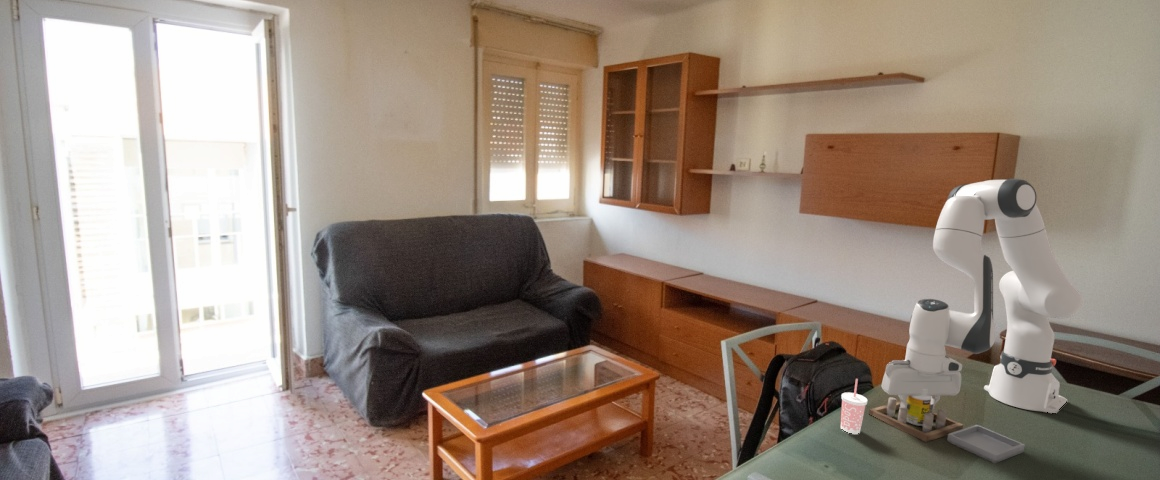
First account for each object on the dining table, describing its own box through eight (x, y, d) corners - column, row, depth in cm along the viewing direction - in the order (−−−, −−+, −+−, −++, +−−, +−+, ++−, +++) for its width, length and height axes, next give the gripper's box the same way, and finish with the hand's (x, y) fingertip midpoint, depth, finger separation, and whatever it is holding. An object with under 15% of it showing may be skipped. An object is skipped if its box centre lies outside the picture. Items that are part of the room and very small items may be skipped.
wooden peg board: (904, 404, 164) (906, 388, 163) (962, 429, 150) (965, 412, 149) (868, 414, 156) (870, 397, 155) (926, 441, 142) (929, 423, 141)
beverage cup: (832, 426, 148) (838, 375, 146) (849, 422, 151) (855, 373, 148) (851, 437, 143) (858, 385, 140) (868, 433, 145) (875, 382, 143)
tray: (975, 431, 149) (976, 424, 149) (1023, 452, 139) (1024, 444, 139) (947, 441, 143) (948, 433, 143) (994, 463, 133) (996, 455, 133)
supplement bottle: (920, 428, 149) (926, 392, 147) (899, 419, 154) (904, 384, 152) (931, 423, 152) (936, 388, 150) (910, 415, 157) (915, 380, 155)
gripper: (895, 364, 146) (888, 414, 148) (968, 365, 148) (960, 414, 150) (880, 355, 152) (873, 403, 154) (950, 356, 154) (943, 403, 156)
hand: (917, 409), depth 152 cm, fingers closed on supplement bottle, 5 cm apart
